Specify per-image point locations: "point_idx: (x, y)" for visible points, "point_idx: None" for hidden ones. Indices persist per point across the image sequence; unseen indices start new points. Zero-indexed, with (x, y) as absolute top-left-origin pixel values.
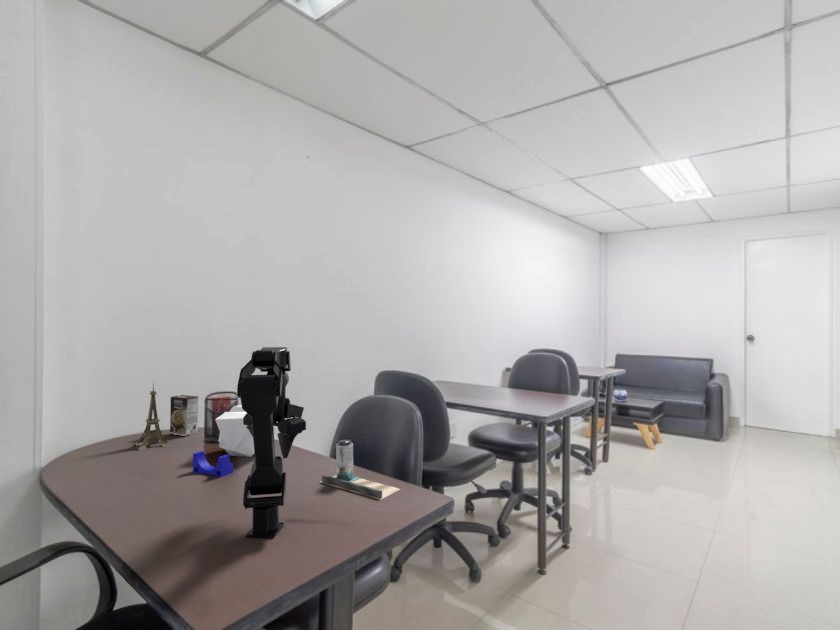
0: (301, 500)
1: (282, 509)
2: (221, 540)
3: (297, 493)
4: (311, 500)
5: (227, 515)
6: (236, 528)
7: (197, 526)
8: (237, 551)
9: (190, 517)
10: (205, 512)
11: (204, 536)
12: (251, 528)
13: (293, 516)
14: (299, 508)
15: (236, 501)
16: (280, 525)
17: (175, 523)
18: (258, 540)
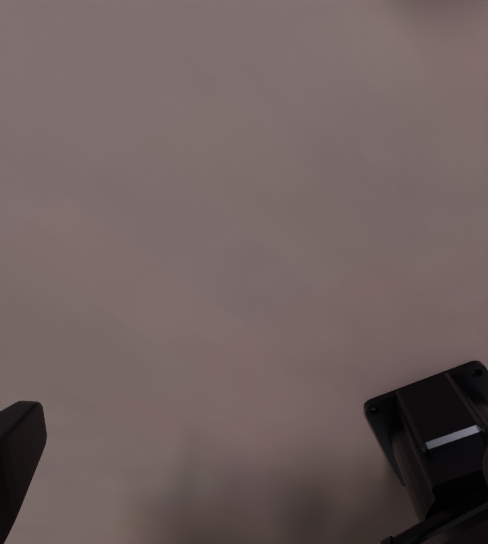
0: (355, 97)
1: (345, 247)
2: (340, 521)
3: (246, 18)
4: (415, 60)
5: (173, 406)
6: (311, 455)
7: (168, 502)
8: None
9: (69, 476)
10: (68, 429)
11: (262, 528)
12: (387, 453)
13: (457, 276)
14: (423, 191)
15: (56, 298)
16: (485, 388)
17: (79, 520)
18: None
